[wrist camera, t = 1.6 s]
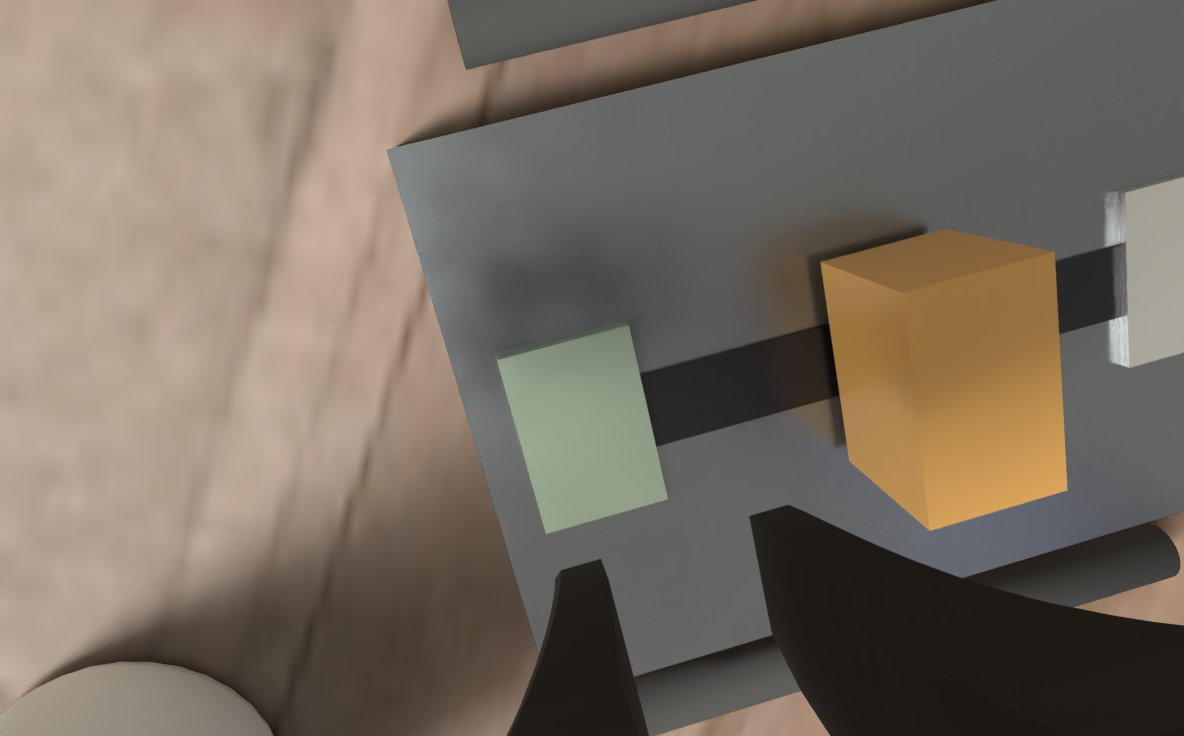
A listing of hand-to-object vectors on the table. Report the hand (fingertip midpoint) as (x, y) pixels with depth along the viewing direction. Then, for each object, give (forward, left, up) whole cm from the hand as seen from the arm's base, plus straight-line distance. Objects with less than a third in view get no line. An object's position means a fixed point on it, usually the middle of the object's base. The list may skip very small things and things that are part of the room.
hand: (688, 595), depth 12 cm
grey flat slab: (-5, -5, -9) cm, 12 cm away
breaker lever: (-5, -5, -7) cm, 10 cm away
